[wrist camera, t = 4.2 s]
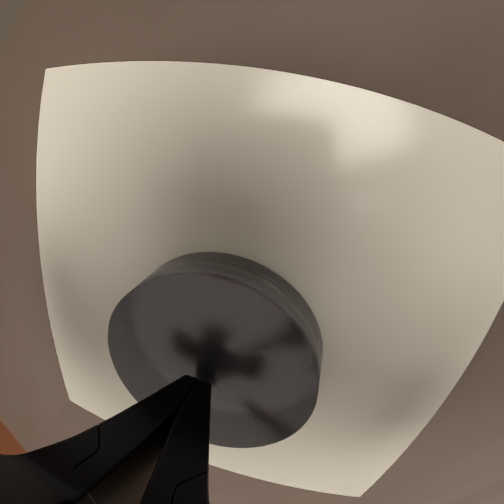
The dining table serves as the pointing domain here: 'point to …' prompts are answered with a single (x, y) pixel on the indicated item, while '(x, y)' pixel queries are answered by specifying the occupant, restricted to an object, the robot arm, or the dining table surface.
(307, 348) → the plunger
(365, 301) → the block
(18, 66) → the dining table surface
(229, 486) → the dining table surface
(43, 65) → the dining table surface
